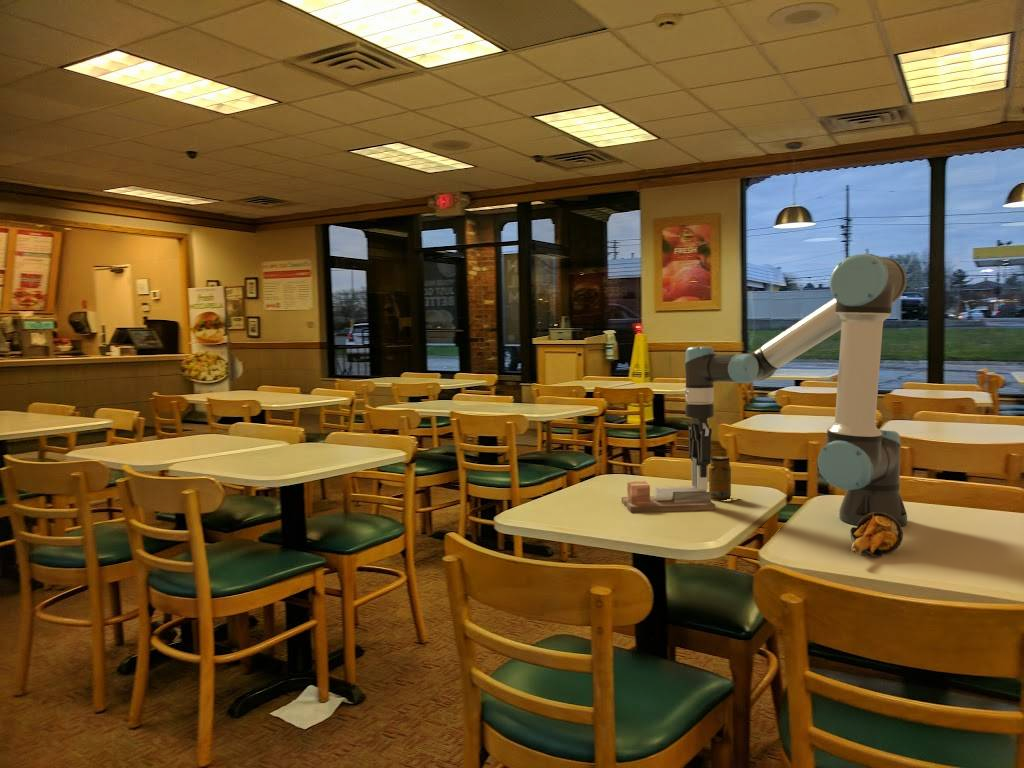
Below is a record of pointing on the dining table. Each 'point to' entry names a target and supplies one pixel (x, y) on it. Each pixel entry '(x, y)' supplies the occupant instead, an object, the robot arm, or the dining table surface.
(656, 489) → the mallet
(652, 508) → the rail slide board
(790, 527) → the dining table surface
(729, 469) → the condiment
